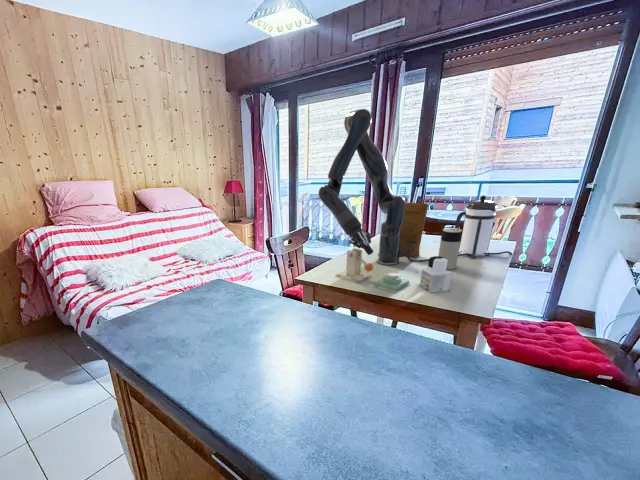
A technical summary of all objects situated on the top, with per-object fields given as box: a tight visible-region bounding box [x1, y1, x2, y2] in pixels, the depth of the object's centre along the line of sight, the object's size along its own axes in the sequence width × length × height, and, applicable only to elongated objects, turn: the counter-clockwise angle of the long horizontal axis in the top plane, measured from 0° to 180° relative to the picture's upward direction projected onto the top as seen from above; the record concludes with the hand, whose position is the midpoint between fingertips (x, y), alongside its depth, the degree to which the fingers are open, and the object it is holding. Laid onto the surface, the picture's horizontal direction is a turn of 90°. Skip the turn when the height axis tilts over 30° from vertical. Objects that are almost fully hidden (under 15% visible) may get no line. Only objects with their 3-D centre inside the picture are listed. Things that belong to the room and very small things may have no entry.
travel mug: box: [437, 227, 462, 270], centre depth 152 cm, size 8×8×18 cm
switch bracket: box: [336, 248, 371, 281], centre depth 148 cm, size 12×9×13 cm
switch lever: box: [352, 249, 374, 272], centre depth 144 cm, size 12×4×4 cm
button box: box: [374, 274, 410, 291], centre depth 137 cm, size 11×9×4 cm
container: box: [419, 255, 452, 293], centre depth 131 cm, size 8×8×13 cm
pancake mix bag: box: [399, 202, 429, 258], centre depth 171 cm, size 7×19×28 cm, turn 43°
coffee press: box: [454, 194, 498, 259], centre depth 165 cm, size 17×16×30 cm
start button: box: [387, 272, 399, 279], centre depth 136 cm, size 4×4×2 cm
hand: (371, 253), depth 140 cm, fingers closed
